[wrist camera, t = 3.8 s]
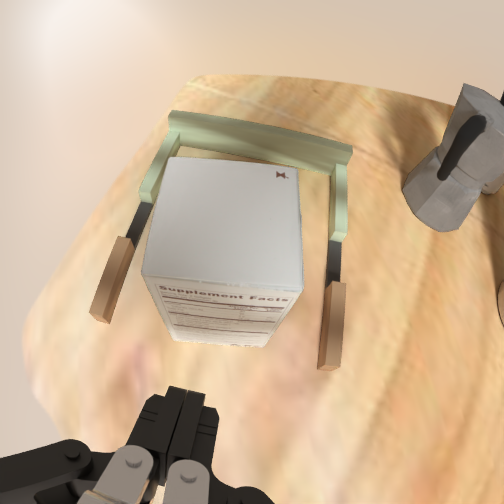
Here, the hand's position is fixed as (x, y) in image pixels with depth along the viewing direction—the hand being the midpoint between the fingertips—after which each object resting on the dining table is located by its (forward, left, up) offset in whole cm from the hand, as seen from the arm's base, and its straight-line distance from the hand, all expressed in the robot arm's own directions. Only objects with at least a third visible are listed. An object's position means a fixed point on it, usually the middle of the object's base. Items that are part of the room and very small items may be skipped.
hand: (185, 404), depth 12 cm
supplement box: (-6, -7, -11) cm, 14 cm away
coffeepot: (-33, -6, -11) cm, 35 cm away
